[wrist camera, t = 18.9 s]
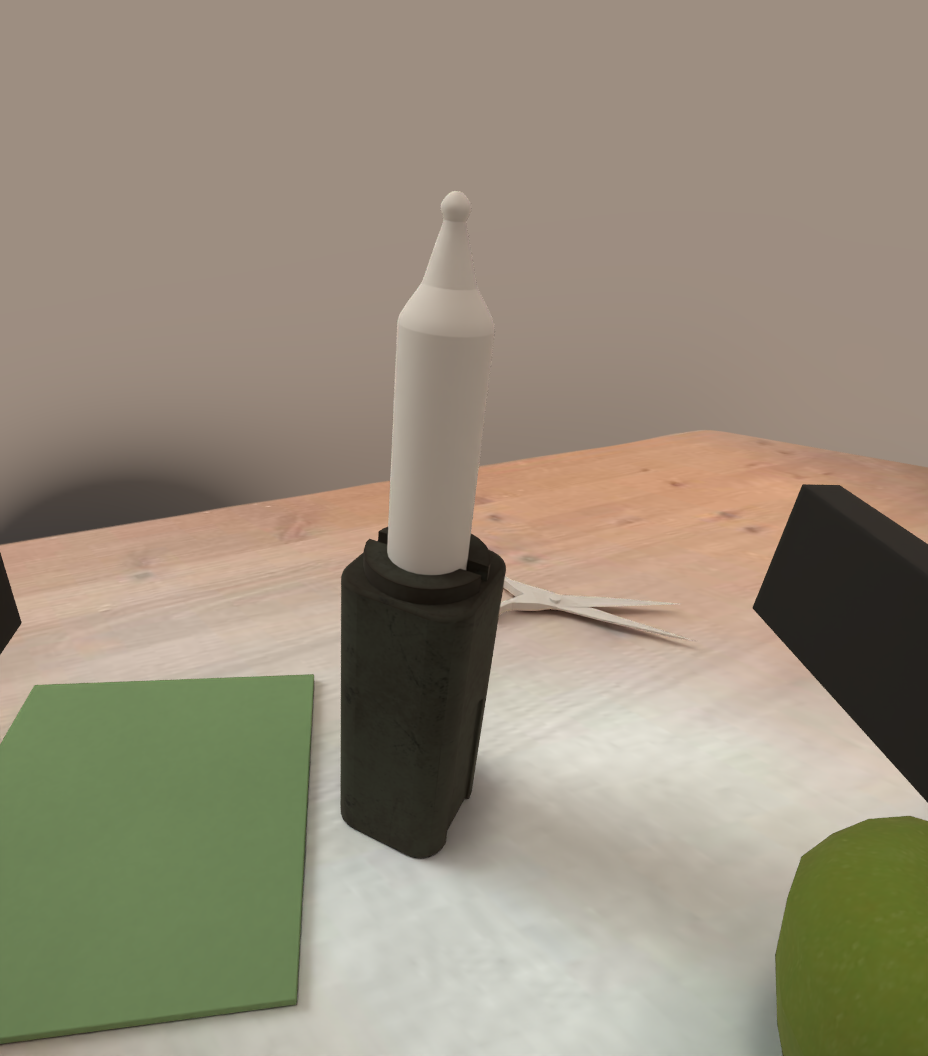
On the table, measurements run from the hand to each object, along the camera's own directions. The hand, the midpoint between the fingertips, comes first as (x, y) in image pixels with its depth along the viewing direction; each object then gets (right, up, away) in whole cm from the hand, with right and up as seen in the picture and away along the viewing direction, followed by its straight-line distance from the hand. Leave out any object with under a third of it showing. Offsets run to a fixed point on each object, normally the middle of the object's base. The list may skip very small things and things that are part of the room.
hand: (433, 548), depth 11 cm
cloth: (-13, -12, +17) cm, 25 cm away
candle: (-2, -12, +19) cm, 23 cm away
